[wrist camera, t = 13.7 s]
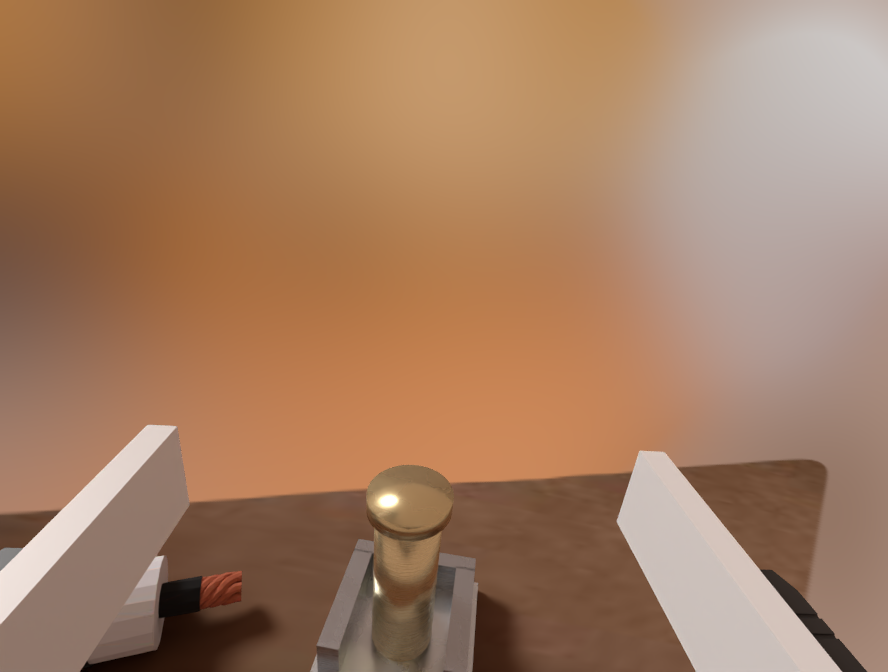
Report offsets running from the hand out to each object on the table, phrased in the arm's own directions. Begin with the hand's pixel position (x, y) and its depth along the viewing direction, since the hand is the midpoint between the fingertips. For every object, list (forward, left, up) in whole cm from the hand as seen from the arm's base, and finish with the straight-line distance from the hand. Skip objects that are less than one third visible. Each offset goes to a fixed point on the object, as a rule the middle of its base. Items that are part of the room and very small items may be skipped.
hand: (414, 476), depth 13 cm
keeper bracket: (-2, +12, -25) cm, 28 cm away
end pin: (-2, +12, -24) cm, 27 cm away
